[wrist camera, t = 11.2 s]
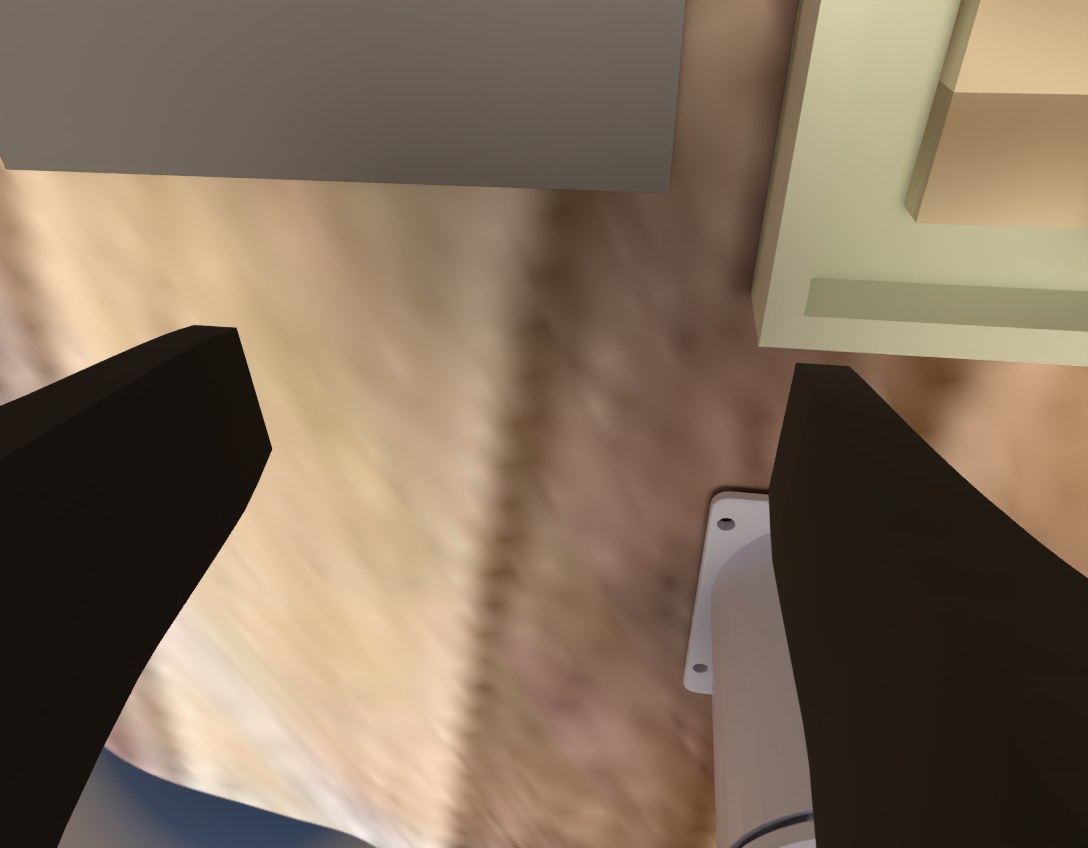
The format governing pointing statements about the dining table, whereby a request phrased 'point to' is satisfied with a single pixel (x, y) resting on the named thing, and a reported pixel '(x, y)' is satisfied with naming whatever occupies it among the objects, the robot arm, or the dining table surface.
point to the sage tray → (895, 211)
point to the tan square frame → (1008, 120)
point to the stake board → (346, 90)
